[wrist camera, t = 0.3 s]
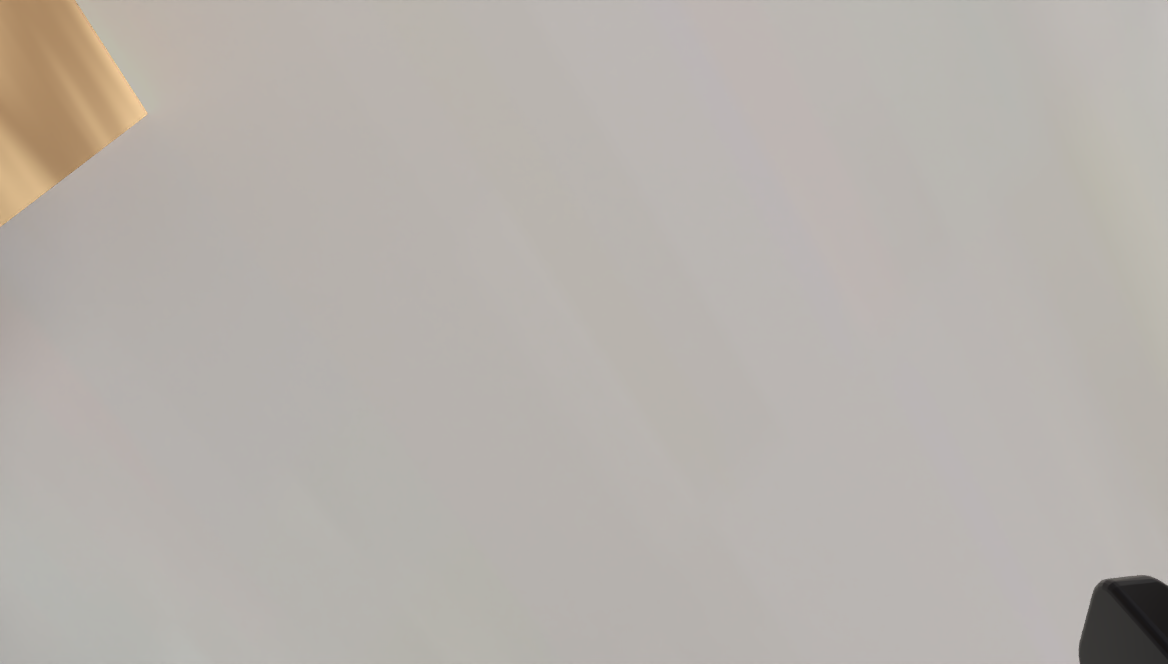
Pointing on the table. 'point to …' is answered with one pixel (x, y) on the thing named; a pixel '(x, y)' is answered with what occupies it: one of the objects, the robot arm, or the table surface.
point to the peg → (54, 98)
